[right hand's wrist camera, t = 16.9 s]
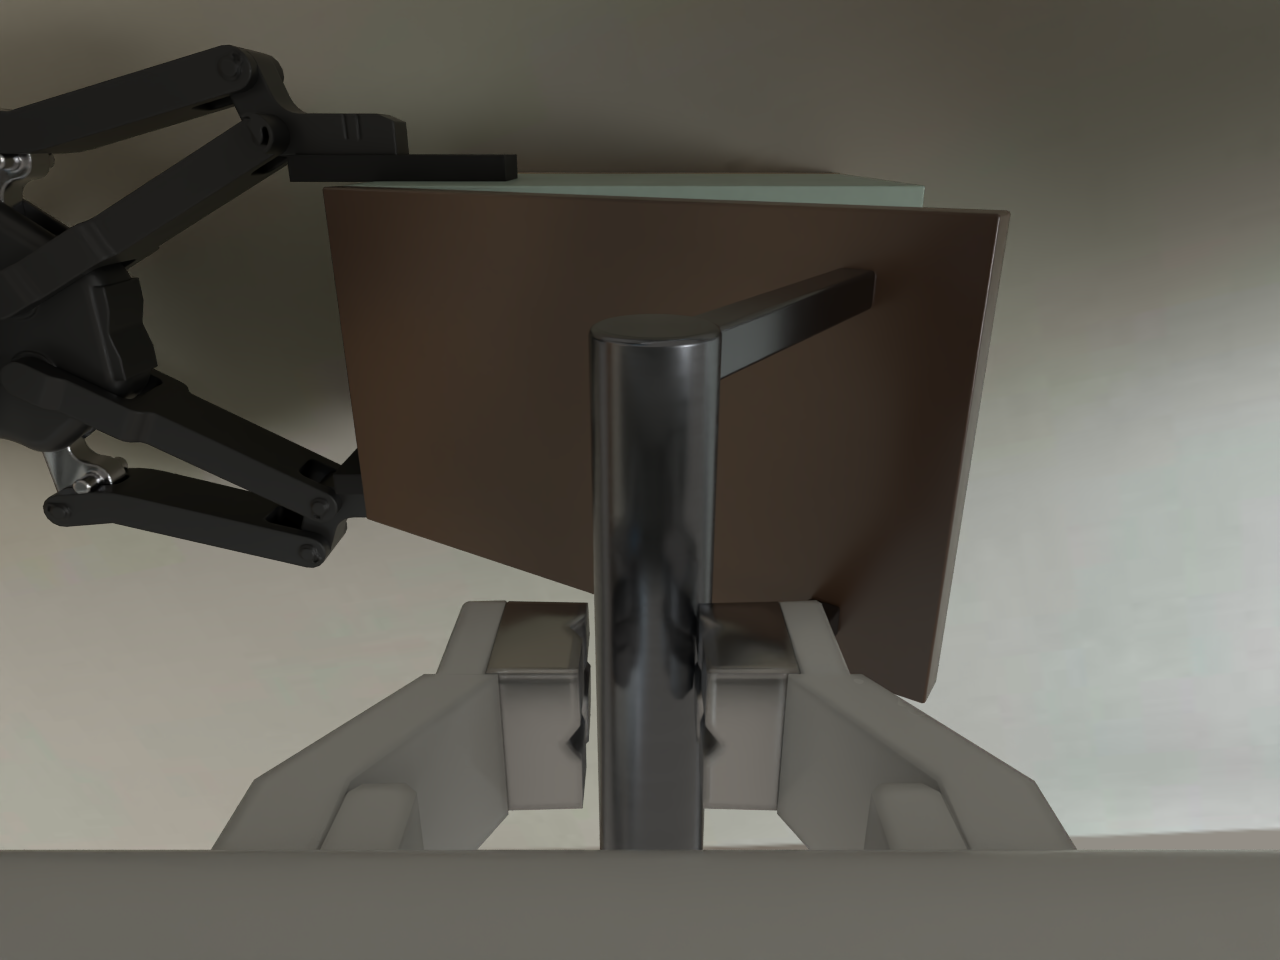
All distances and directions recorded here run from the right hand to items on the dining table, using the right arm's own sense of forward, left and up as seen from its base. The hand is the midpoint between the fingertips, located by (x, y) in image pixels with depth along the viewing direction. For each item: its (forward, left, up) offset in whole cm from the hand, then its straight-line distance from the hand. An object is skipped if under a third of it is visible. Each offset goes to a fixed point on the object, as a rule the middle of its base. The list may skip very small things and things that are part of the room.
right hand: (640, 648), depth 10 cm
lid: (+1, +1, -10) cm, 10 cm away
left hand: (+2, +3, -19) cm, 20 cm away
